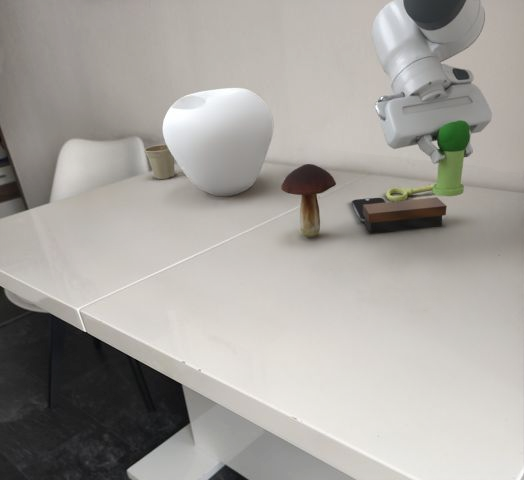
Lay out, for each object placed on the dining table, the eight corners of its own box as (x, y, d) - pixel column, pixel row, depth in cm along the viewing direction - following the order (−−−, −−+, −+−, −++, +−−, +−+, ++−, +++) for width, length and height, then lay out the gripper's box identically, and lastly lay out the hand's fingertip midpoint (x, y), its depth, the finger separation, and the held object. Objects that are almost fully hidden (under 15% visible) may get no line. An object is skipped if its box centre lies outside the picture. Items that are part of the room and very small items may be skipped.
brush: (435, 217, 118) (437, 197, 115) (444, 226, 113) (446, 205, 110) (362, 224, 118) (362, 204, 115) (368, 234, 112) (369, 213, 110)
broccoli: (457, 186, 98) (465, 117, 91) (468, 194, 93) (478, 123, 87) (427, 189, 97) (433, 120, 91) (436, 197, 93) (443, 126, 87)
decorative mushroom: (307, 250, 108) (304, 175, 100) (274, 237, 115) (268, 166, 107) (347, 235, 113) (347, 162, 105) (312, 223, 121) (310, 154, 112)
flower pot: (146, 176, 168) (140, 147, 164) (174, 170, 171) (170, 142, 167) (154, 183, 161) (148, 153, 156) (183, 177, 164) (179, 147, 159)
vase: (226, 172, 164) (216, 83, 151) (296, 183, 148) (291, 84, 135) (155, 198, 147) (136, 100, 134) (225, 213, 131) (211, 104, 118)
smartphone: (382, 197, 130) (396, 217, 117) (382, 200, 130) (396, 220, 117) (350, 199, 130) (361, 220, 117) (350, 202, 130) (361, 223, 118)
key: (439, 193, 131) (440, 184, 129) (395, 203, 128) (395, 194, 126) (422, 186, 136) (422, 178, 135) (379, 195, 133) (379, 187, 132)
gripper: (379, 84, 88) (412, 157, 86) (478, 69, 94) (512, 136, 92) (364, 111, 94) (394, 179, 92) (458, 94, 100) (489, 158, 98)
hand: (454, 158), depth 92 cm, fingers closed on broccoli, 4 cm apart
